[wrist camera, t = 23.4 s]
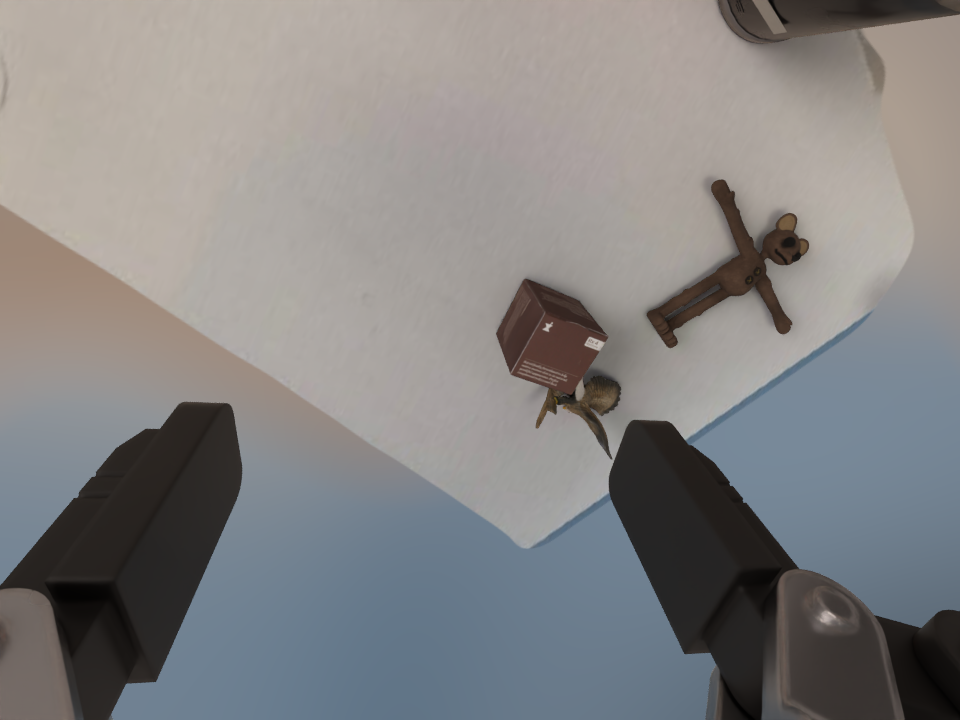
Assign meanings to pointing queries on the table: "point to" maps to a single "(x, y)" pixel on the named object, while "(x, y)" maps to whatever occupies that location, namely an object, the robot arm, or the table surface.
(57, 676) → the robot arm
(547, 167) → the table surface
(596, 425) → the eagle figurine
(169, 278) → the table surface
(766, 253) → the bear figurine
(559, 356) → the box
